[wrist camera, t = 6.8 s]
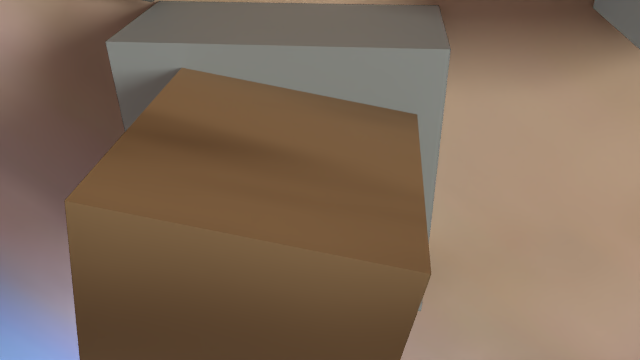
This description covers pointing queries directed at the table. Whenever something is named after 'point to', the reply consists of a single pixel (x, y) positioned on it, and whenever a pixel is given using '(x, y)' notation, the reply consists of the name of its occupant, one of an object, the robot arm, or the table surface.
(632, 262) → the table surface
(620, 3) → the dusty-blue cube
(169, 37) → the slate slab
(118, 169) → the walnut cube
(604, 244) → the table surface
